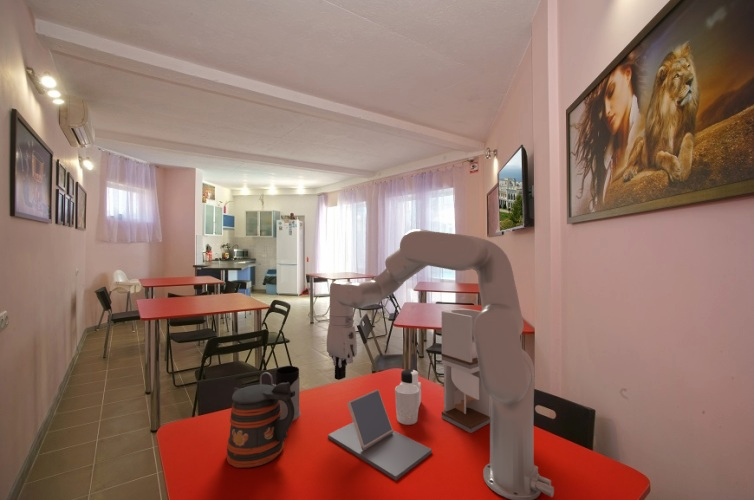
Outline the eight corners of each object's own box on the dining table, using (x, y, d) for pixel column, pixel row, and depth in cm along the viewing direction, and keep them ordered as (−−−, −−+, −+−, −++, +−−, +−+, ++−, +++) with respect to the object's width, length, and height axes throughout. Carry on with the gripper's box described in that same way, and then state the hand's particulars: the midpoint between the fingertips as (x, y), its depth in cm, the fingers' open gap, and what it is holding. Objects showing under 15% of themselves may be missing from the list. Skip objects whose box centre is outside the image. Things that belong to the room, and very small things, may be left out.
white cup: (419, 414, 110) (419, 384, 110) (419, 426, 102) (419, 394, 102) (395, 413, 110) (395, 383, 111) (394, 425, 103) (394, 393, 103)
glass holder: (294, 422, 104) (294, 375, 104) (253, 419, 106) (253, 372, 106) (304, 409, 113) (304, 366, 113) (266, 406, 115) (266, 364, 115)
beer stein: (307, 442, 93) (307, 372, 93) (281, 476, 79) (282, 393, 79) (248, 434, 97) (249, 366, 98) (213, 464, 83) (214, 386, 83)
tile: (391, 432, 96) (393, 432, 96) (362, 450, 88) (364, 449, 87) (376, 389, 101) (378, 388, 100) (346, 402, 92) (349, 401, 91)
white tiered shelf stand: (441, 418, 107) (441, 311, 108) (462, 408, 114) (462, 308, 114) (470, 433, 98) (470, 316, 99) (491, 422, 105) (490, 312, 105)
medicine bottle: (397, 407, 114) (397, 373, 115) (402, 399, 121) (402, 366, 121) (417, 410, 112) (417, 375, 112) (421, 401, 119) (421, 368, 119)
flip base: (431, 453, 88) (431, 449, 88) (395, 480, 77) (396, 476, 77) (364, 419, 106) (364, 416, 106) (328, 438, 95) (328, 434, 95)
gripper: (366, 322, 101) (365, 381, 101) (335, 315, 111) (334, 369, 111) (347, 326, 95) (346, 388, 95) (317, 318, 106) (316, 374, 106)
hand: (340, 378), depth 103 cm, fingers closed
